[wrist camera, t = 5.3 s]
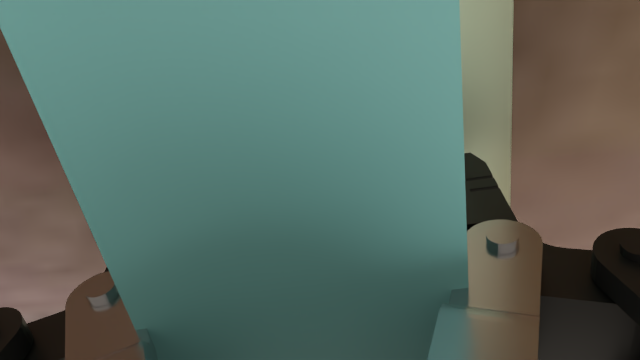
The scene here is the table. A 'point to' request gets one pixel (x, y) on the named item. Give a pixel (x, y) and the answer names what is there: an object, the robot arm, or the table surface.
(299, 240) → the teal block
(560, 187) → the table surface
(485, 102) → the tunnel track
